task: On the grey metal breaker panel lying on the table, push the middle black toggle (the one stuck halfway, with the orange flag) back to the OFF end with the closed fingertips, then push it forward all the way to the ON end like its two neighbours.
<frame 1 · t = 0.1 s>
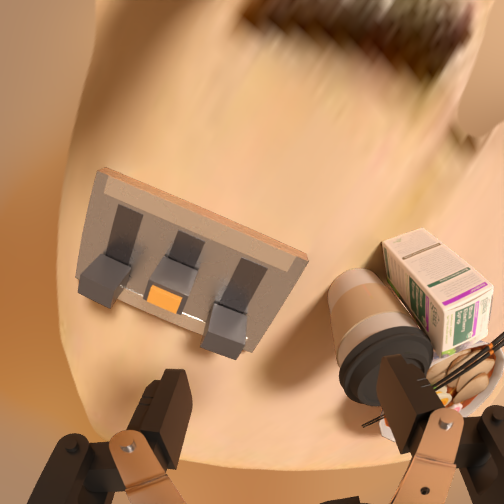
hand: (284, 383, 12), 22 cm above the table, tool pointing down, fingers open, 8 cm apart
panel: (181, 263, 35), on the table
breaker 2: (224, 331, 32), point 5 cm above the table, slide at 3.0 cm
breaker 1: (105, 279, 30), point 5 cm above the table, slide at 3.0 cm
coffee cup: (354, 292, 36), on the table, touching syrup box
syrup box: (404, 253, 34), on the table, touching coffee cup
ramen bowl: (430, 368, 42), on the table
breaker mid: (170, 285, 30), point 5 cm above the table, slide at 0.0 cm
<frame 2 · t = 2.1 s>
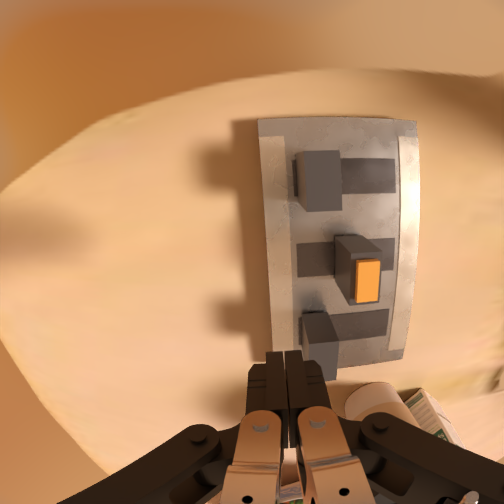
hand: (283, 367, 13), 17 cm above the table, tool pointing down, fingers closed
panel: (342, 251, 28), on the table
breaker 2: (318, 346, 26), point 5 cm above the table, slide at 3.0 cm
breaker 1: (317, 179, 22), point 5 cm above the table, slide at 3.0 cm
coffee cup: (370, 400, 34), on the table, touching syrup box
syrup box: (414, 406, 34), on the table, touching coffee cup
ramen bowl: (308, 488, 40), on the table
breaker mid: (357, 269, 23), point 5 cm above the table, slide at 0.0 cm
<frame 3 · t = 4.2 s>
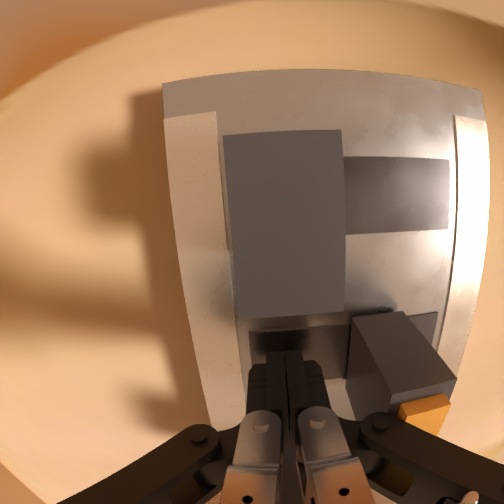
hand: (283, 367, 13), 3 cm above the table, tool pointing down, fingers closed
panel: (339, 330, 15), on the table
breaker 2: (288, 485, 13), point 5 cm above the table, slide at 3.0 cm
breaker 1: (281, 210, 9), point 5 cm above the table, slide at 3.0 cm
coffee cup: (368, 493, 21), on the table, touching syrup box
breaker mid: (393, 390, 10), point 5 cm above the table, slide at -1.1 cm, touching gripper, hand
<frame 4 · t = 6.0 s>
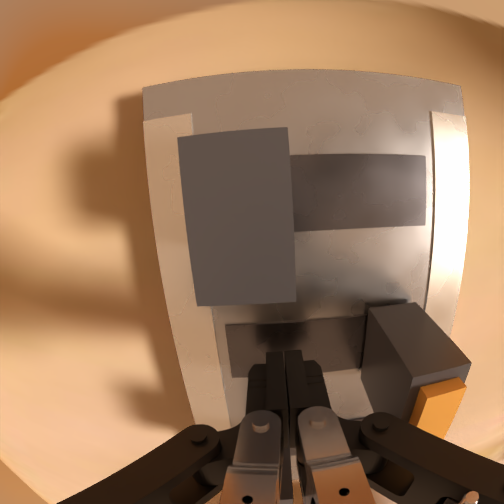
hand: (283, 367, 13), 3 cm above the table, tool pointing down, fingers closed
panel: (318, 325, 16), on the table
breaker 2: (267, 478, 13), point 5 cm above the table, slide at 3.0 cm
breaker 1: (245, 206, 9), point 5 cm above the table, slide at 3.0 cm
coffee cup: (357, 491, 21), on the table, touching syrup box
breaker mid: (409, 377, 11), point 5 cm above the table, slide at -3.1 cm
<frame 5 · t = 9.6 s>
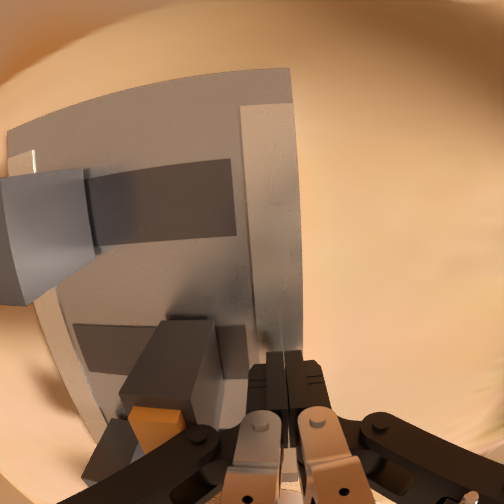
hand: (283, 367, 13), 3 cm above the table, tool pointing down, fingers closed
panel: (166, 332, 16), on the table
breaker 2: (126, 469, 13), point 5 cm above the table, slide at 3.0 cm
breaker 1: (33, 229, 9), point 5 cm above the table, slide at 3.0 cm
coffee cup: (271, 502, 21), on the table, touching syrup box
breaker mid: (180, 397, 11), point 5 cm above the table, slide at -2.0 cm, touching gripper
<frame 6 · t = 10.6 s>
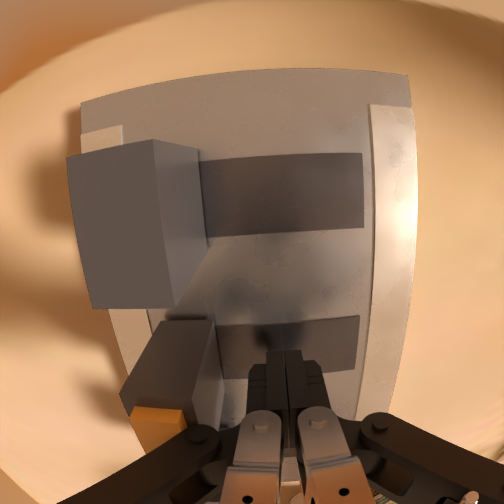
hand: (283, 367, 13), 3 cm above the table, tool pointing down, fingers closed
panel: (261, 330, 16), on the table
breaker 2: (212, 480, 13), point 5 cm above the table, slide at 3.0 cm
breaker 1: (150, 214, 9), point 5 cm above the table, slide at 3.0 cm
coffee cup: (326, 497, 21), on the table, touching syrup box
syrup box: (390, 495, 22), on the table, touching coffee cup
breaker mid: (181, 397, 11), point 5 cm above the table, slide at 3.1 cm, touching gripper, hand
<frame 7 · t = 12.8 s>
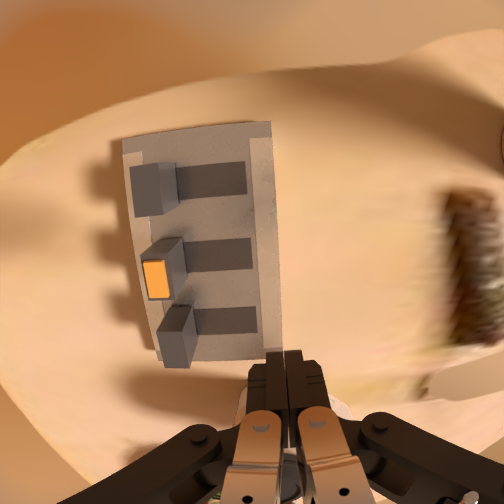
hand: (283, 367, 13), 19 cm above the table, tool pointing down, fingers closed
panel: (207, 250, 31), on the table
breaker 2: (178, 336, 28), point 5 cm above the table, slide at 3.0 cm
breaker 1: (155, 187, 25), point 5 cm above the table, slide at 3.0 cm
coffee cup: (266, 397, 37), on the table, touching syrup box
syrup box: (320, 408, 37), on the table, touching coffee cup
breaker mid: (164, 268, 26), point 5 cm above the table, slide at 3.1 cm
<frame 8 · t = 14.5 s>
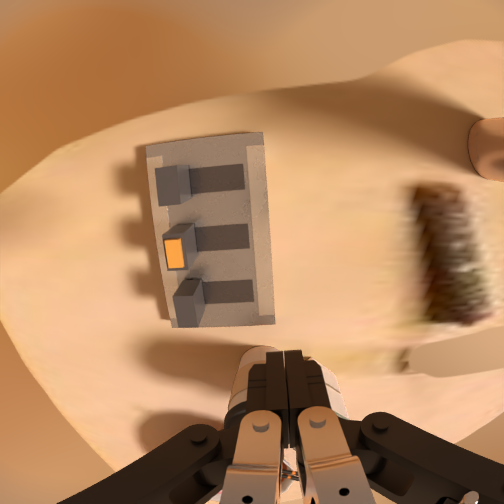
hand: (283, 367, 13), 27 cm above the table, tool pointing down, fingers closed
panel: (213, 234, 39), on the table
breaker 2: (190, 302, 36), point 5 cm above the table, slide at 3.0 cm
breaker 1: (174, 184, 32), point 5 cm above the table, slide at 3.0 cm
coffee cup: (263, 363, 44), on the table, touching syrup box
syrup box: (310, 375, 45), on the table, touching coffee cup
ramen bowl: (233, 449, 51), on the table
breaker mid: (180, 247, 34), point 5 cm above the table, slide at 3.1 cm
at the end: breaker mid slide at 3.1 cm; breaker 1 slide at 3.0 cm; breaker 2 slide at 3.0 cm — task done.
